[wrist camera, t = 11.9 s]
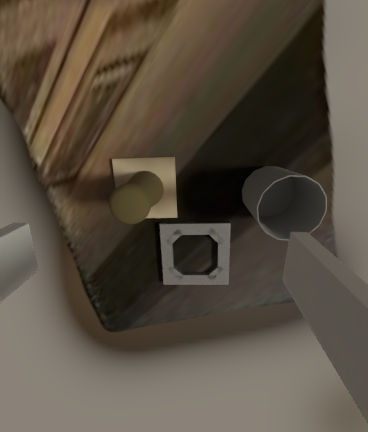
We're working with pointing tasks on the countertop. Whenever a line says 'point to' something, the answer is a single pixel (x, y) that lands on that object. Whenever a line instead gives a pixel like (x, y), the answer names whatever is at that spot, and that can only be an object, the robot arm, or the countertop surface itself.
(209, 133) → the countertop surface
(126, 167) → the coaster
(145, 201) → the pepper shaker
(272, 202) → the cup
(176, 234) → the plate
